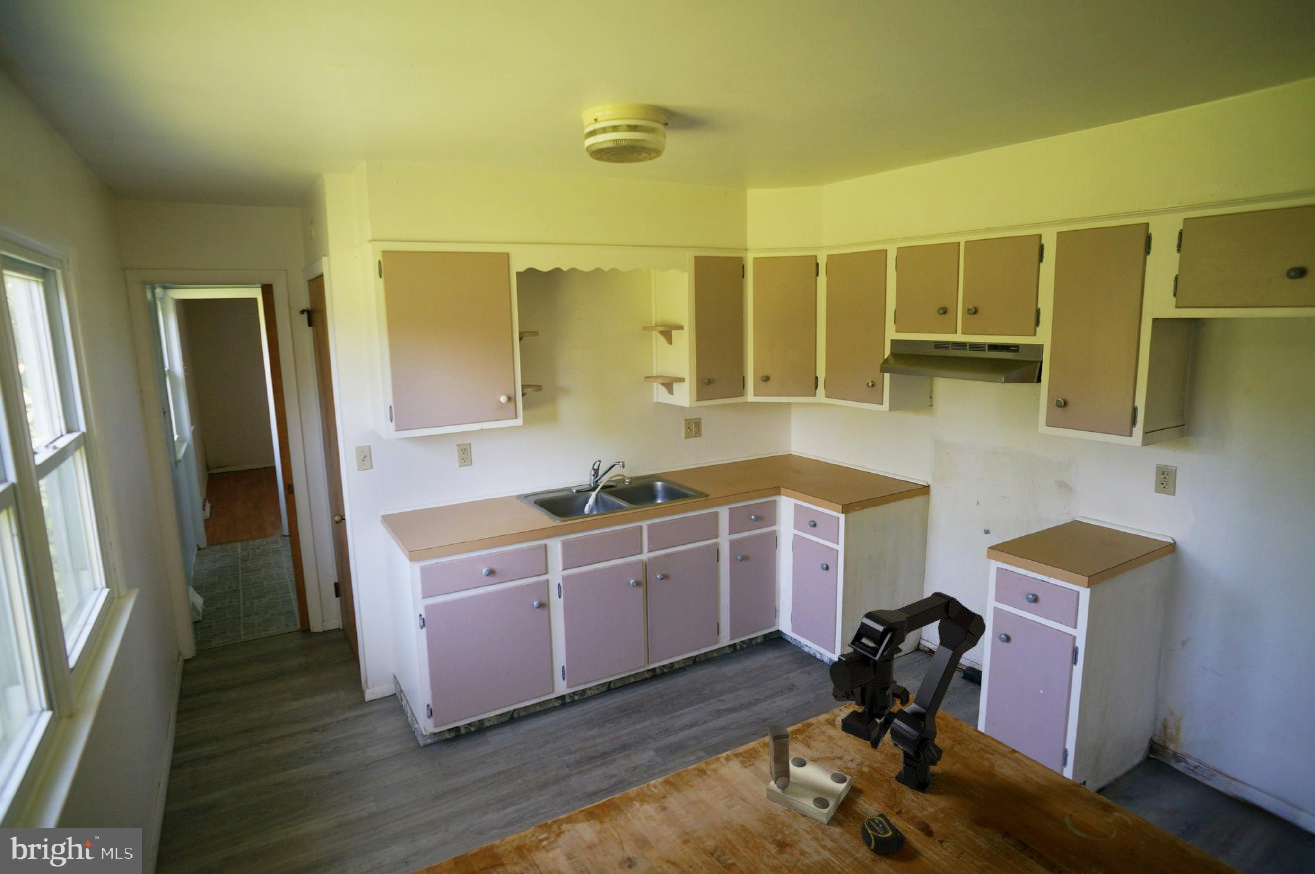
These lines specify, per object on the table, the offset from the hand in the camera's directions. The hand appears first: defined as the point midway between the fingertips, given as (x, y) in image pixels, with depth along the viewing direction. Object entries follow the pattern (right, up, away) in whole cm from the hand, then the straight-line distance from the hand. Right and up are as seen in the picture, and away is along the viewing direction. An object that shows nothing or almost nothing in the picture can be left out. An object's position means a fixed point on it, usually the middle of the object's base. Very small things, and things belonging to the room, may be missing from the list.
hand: (874, 747), depth 140 cm
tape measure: (-1, -14, -8) cm, 16 cm away
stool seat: (-12, -12, +5) cm, 17 cm away
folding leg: (-18, -9, +3) cm, 21 cm away
